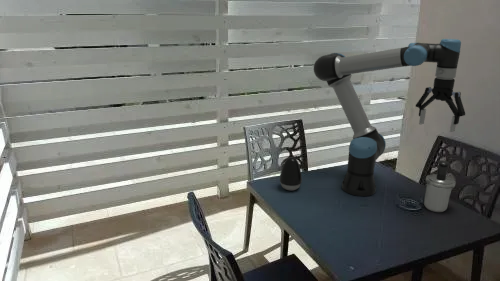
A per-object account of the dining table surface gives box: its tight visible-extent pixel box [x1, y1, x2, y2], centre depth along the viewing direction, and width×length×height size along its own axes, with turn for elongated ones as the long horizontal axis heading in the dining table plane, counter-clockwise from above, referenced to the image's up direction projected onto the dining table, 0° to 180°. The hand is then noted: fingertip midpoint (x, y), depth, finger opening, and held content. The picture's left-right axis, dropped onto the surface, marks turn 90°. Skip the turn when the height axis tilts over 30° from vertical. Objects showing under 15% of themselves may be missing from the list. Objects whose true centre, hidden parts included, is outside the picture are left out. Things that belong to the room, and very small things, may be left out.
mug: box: [423, 182, 453, 213], centre depth 158 cm, size 12×9×11 cm
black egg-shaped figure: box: [279, 155, 303, 191], centre depth 173 cm, size 10×10×15 cm
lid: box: [425, 159, 457, 189], centre depth 155 cm, size 11×11×9 cm
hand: (436, 127), depth 163 cm, fingers open, 13 cm apart
